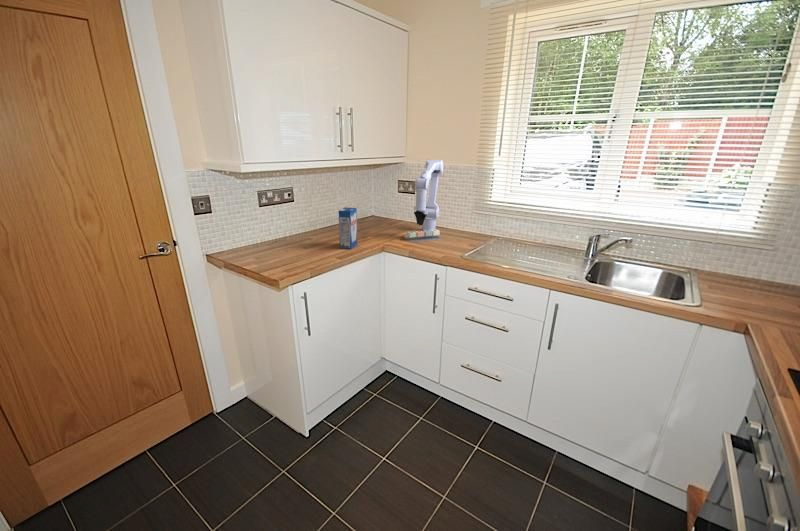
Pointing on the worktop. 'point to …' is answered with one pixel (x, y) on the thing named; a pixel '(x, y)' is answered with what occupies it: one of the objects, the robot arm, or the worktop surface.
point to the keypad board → (423, 238)
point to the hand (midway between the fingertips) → (419, 224)
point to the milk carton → (348, 228)
